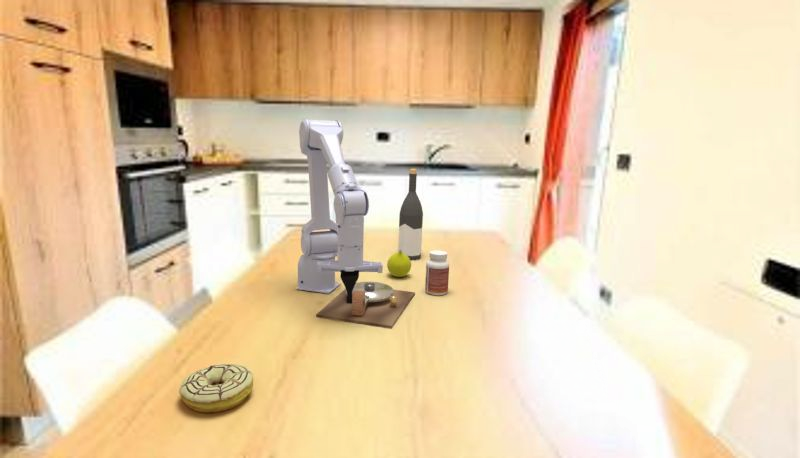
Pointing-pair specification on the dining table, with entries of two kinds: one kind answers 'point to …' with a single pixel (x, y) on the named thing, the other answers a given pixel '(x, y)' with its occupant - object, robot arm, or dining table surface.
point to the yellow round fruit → (399, 264)
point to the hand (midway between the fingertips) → (349, 301)
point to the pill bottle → (437, 273)
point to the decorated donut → (216, 387)
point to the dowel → (393, 301)
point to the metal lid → (368, 295)
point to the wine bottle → (411, 222)
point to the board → (367, 310)
